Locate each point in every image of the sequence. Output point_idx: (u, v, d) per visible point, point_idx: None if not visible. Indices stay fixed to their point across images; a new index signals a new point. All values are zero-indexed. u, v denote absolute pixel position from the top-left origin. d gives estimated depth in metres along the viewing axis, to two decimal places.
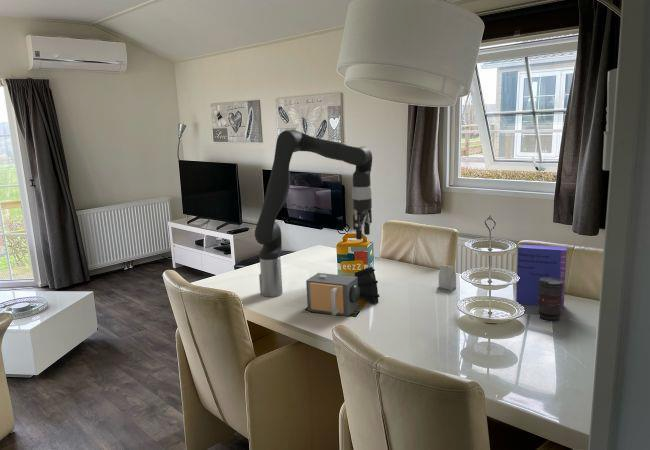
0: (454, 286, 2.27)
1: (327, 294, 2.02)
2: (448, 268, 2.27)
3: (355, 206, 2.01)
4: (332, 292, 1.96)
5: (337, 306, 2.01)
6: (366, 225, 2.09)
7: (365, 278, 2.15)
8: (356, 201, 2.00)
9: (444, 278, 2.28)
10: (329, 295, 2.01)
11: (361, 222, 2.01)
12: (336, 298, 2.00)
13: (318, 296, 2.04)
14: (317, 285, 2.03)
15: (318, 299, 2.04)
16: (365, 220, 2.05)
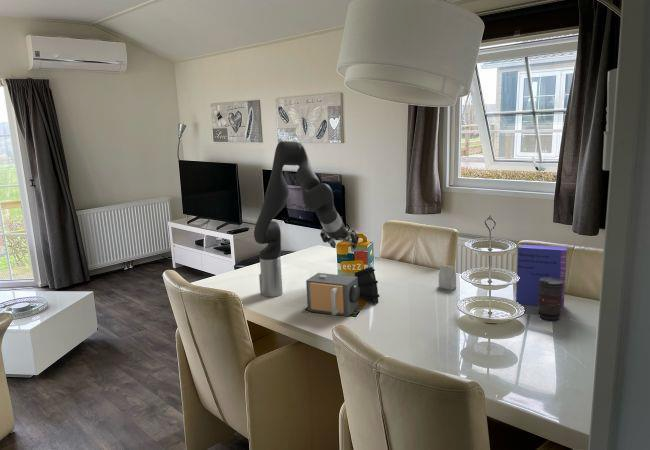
0: (454, 286, 2.27)
1: (327, 294, 2.02)
2: (448, 268, 2.27)
3: None
4: (332, 292, 1.96)
5: (337, 306, 2.01)
6: None
7: (365, 278, 2.15)
8: None
9: (444, 278, 2.28)
10: (329, 295, 2.01)
11: (330, 239, 1.98)
12: (336, 298, 2.00)
13: (318, 296, 2.04)
14: (317, 285, 2.03)
15: (318, 299, 2.04)
16: (339, 239, 1.96)
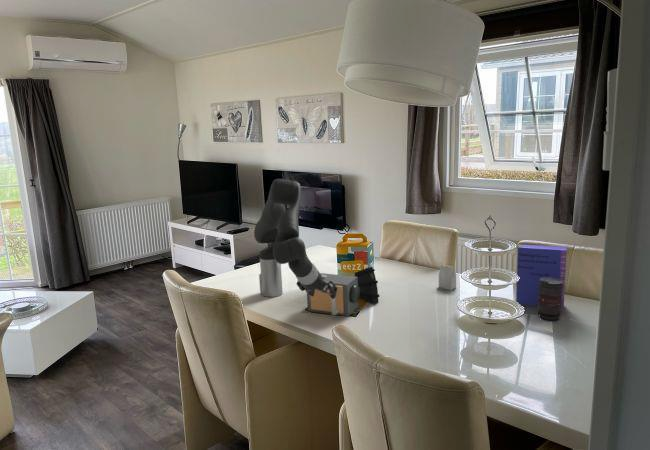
0: (454, 286, 2.27)
1: (327, 294, 2.02)
2: (448, 268, 2.27)
3: None
4: None
5: (337, 306, 2.01)
6: None
7: (365, 278, 2.15)
8: None
9: (444, 278, 2.28)
10: (329, 295, 2.01)
11: None
12: (336, 298, 2.00)
13: (318, 296, 2.04)
14: None
15: (318, 299, 2.04)
16: None
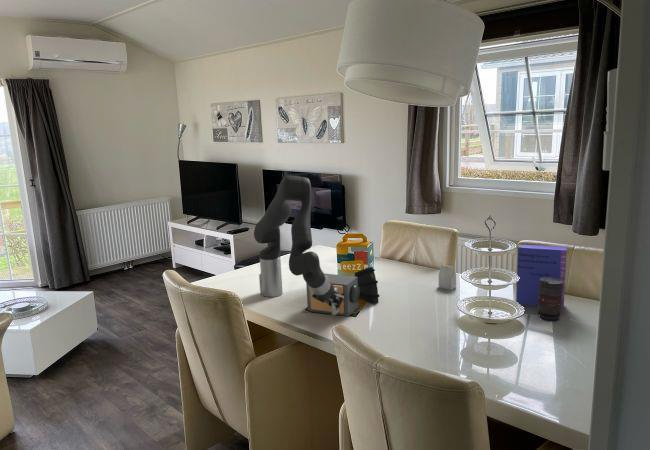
0: (454, 286, 2.27)
1: None
2: (448, 268, 2.27)
3: None
4: None
5: None
6: None
7: (365, 278, 2.15)
8: None
9: (444, 278, 2.28)
10: None
11: None
12: None
13: None
14: None
15: None
16: (328, 299, 1.93)
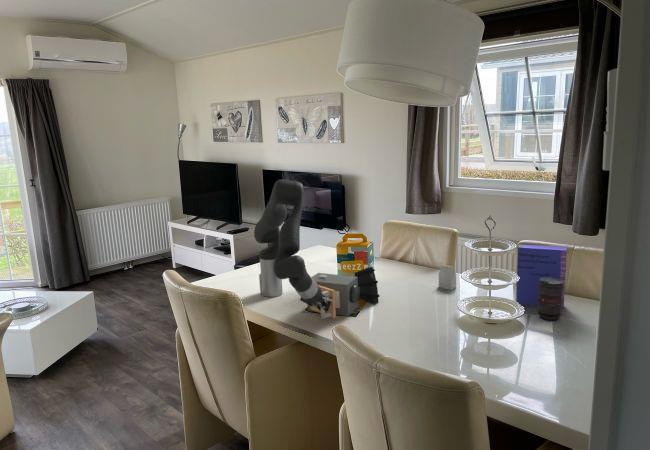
0: (454, 286, 2.27)
1: None
2: (448, 268, 2.27)
3: None
4: None
5: (329, 310, 1.97)
6: None
7: (365, 278, 2.15)
8: None
9: (444, 278, 2.28)
10: None
11: None
12: None
13: None
14: None
15: None
16: None
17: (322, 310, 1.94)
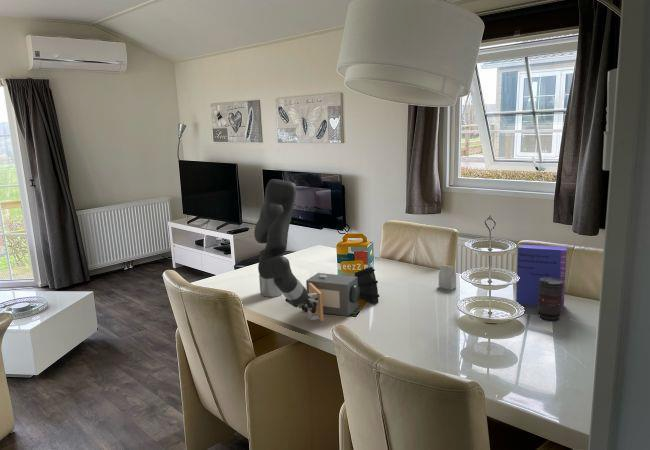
0: (454, 286, 2.27)
1: None
2: (448, 268, 2.27)
3: None
4: None
5: (318, 312, 1.95)
6: None
7: (365, 278, 2.15)
8: None
9: (444, 278, 2.28)
10: None
11: None
12: (318, 304, 1.95)
13: (312, 298, 2.02)
14: (311, 286, 2.01)
15: None
16: None
17: (308, 311, 1.93)
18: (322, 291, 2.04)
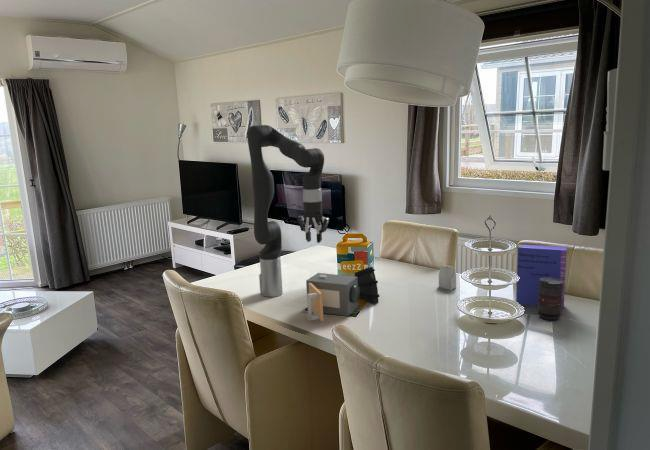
0: (454, 286, 2.27)
1: (315, 298, 1.98)
2: (448, 268, 2.27)
3: None
4: (307, 296, 1.92)
5: (318, 312, 1.95)
6: None
7: (365, 278, 2.15)
8: None
9: (444, 278, 2.28)
10: (315, 299, 1.97)
11: (303, 222, 2.04)
12: (318, 304, 1.95)
13: (312, 298, 2.02)
14: (311, 286, 2.01)
15: (312, 301, 2.02)
16: (312, 223, 2.02)
17: (308, 311, 1.93)
18: (322, 291, 2.04)
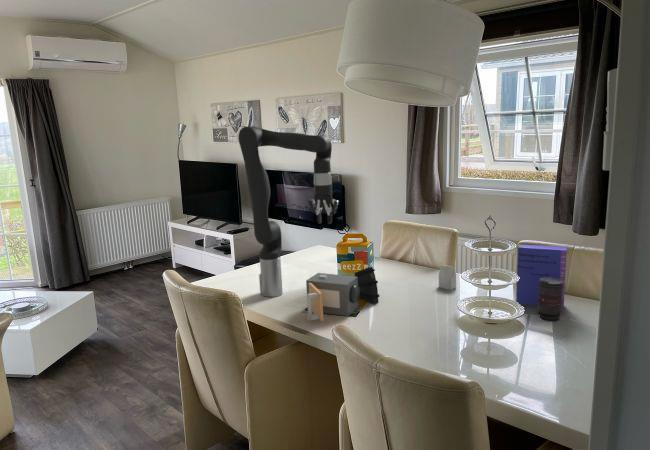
0: (454, 286, 2.27)
1: (315, 298, 1.98)
2: (448, 268, 2.27)
3: None
4: (307, 296, 1.92)
5: (318, 312, 1.95)
6: None
7: (365, 278, 2.15)
8: None
9: (444, 278, 2.28)
10: (315, 299, 1.97)
11: None
12: (318, 304, 1.95)
13: (312, 298, 2.02)
14: (311, 286, 2.01)
15: (312, 301, 2.02)
16: (323, 205, 2.14)
17: (308, 311, 1.93)
18: (322, 291, 2.04)
